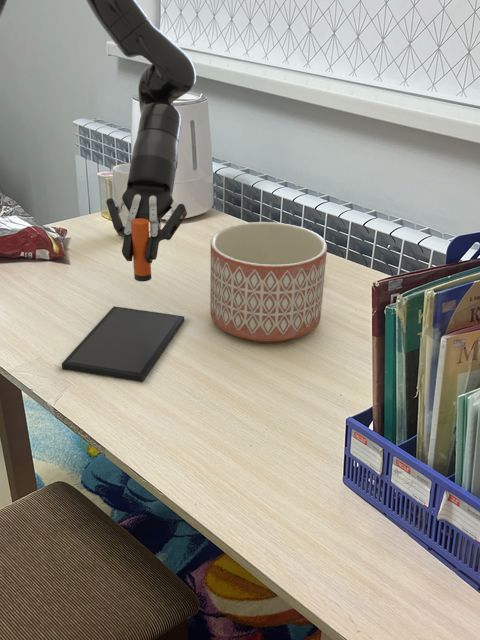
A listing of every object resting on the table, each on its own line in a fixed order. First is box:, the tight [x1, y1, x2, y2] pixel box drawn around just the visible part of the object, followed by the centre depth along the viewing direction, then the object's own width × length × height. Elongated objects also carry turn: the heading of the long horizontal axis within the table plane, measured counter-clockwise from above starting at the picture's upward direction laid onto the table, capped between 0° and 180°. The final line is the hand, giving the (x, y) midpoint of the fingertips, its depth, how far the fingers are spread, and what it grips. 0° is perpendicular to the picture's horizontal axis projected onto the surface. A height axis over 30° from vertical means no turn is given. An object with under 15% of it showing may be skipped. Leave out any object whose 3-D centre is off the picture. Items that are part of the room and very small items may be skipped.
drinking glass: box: [112, 163, 131, 227], centre depth 150 cm, size 7×7×15 cm
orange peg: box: [131, 218, 152, 283], centre depth 113 cm, size 3×3×10 cm
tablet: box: [61, 305, 185, 383], centre depth 113 cm, size 13×20×1 cm, turn 168°
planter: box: [209, 221, 328, 344], centre depth 118 cm, size 19×19×15 cm
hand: (138, 259), depth 112 cm, fingers closed on orange peg, 2 cm apart
